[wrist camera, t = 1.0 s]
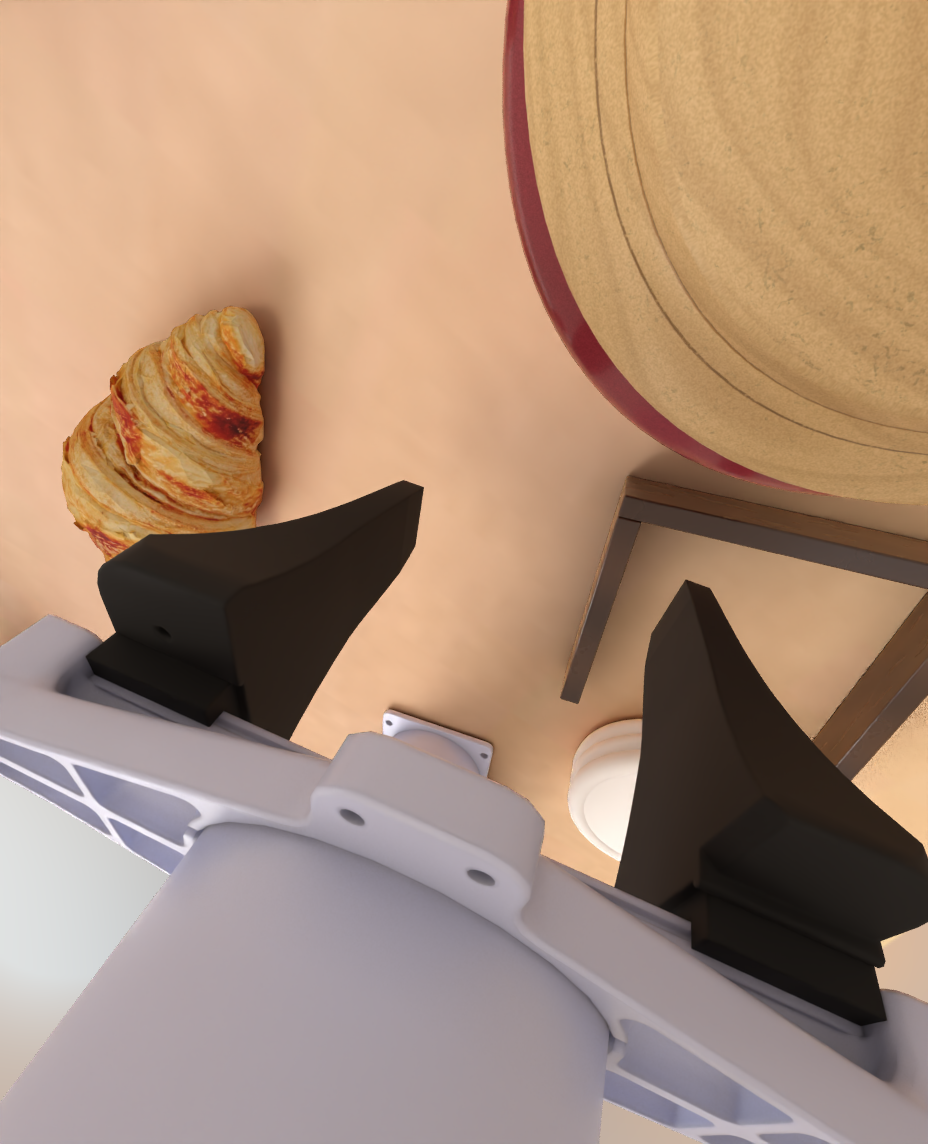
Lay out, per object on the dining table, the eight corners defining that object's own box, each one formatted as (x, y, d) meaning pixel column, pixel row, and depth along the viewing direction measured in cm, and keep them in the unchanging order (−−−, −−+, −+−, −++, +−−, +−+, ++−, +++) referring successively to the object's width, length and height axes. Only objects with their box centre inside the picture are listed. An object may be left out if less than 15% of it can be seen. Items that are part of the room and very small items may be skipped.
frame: (830, 749, 26) (845, 788, 24) (565, 669, 29) (559, 699, 27) (989, 554, 20) (1026, 586, 18) (626, 474, 22) (624, 495, 20)
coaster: (558, 792, 35) (549, 840, 32) (597, 692, 29) (591, 738, 26) (709, 846, 33) (714, 902, 30) (781, 750, 27) (797, 807, 24)
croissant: (263, 265, 26) (74, 194, 20) (356, 399, 23) (168, 367, 17) (162, 530, 38) (24, 538, 32) (215, 641, 35) (75, 675, 29)
